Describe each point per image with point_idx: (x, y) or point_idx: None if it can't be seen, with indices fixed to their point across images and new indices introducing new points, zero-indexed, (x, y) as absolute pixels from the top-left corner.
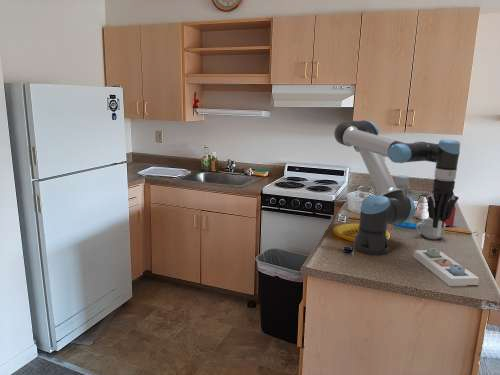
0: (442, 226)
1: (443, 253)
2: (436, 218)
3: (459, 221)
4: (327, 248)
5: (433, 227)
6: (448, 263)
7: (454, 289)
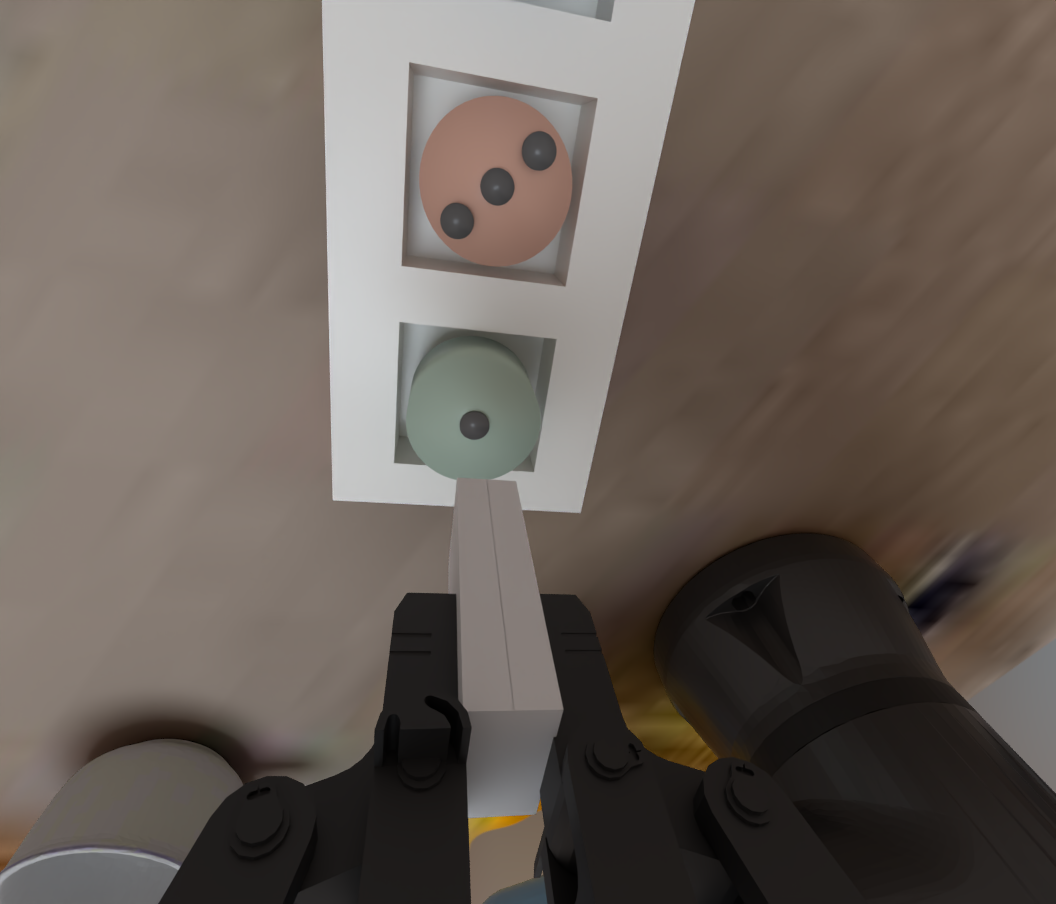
0: (415, 617)
1: (331, 423)
2: (657, 792)
3: None
4: (1015, 635)
5: (157, 843)
6: (492, 113)
7: None
